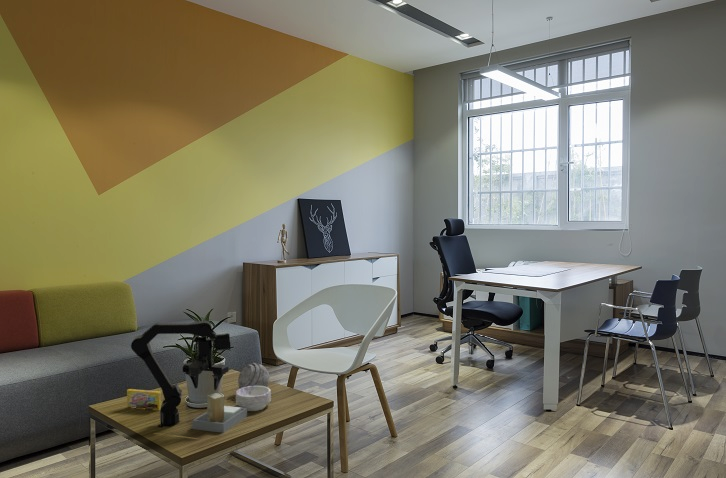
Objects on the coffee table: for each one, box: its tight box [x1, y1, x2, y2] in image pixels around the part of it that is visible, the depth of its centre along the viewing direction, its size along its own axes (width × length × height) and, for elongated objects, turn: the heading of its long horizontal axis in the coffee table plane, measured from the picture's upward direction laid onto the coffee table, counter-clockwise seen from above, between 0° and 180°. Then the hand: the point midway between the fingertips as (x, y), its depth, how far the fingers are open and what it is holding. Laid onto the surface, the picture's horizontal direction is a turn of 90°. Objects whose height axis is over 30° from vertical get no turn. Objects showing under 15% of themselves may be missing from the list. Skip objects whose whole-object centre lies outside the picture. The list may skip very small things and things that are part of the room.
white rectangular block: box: [224, 405, 241, 421], centre depth 219 cm, size 10×6×4 cm, turn 73°
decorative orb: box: [237, 362, 270, 389], centre depth 251 cm, size 15×14×15 cm
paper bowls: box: [235, 386, 272, 412], centre depth 232 cm, size 15×15×8 cm
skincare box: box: [206, 392, 225, 423], centre depth 211 cm, size 6×4×12 cm
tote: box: [191, 408, 248, 433], centre depth 215 cm, size 14×18×4 cm
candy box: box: [126, 388, 162, 411], centre depth 234 cm, size 16×2×8 cm, turn 76°
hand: (205, 389), depth 219 cm, fingers open, 9 cm apart
